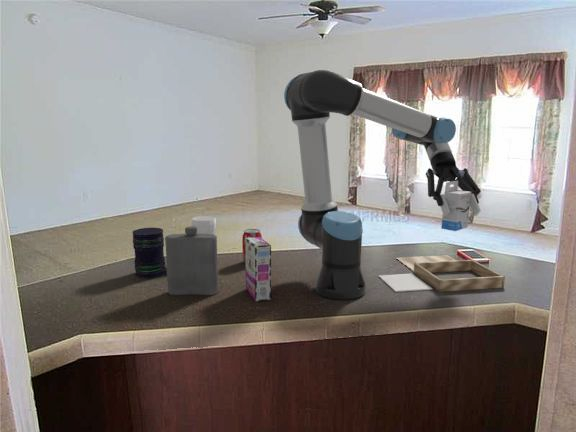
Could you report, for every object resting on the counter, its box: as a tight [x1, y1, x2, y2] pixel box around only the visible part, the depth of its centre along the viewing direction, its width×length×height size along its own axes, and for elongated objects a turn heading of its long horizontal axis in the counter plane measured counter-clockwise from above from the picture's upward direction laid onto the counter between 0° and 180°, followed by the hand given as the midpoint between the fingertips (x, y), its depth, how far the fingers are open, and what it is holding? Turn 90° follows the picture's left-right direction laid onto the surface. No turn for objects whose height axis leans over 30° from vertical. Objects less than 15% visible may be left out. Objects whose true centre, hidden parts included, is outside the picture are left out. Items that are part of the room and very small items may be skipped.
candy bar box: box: [245, 237, 272, 302], centre depth 129 cm, size 11×5×16 cm, turn 21°
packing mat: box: [378, 272, 434, 293], centre depth 141 cm, size 12×14×1 cm
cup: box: [191, 215, 219, 262], centre depth 162 cm, size 9×9×16 cm
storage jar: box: [132, 227, 166, 280], centre depth 147 cm, size 10×10×15 cm
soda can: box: [241, 228, 263, 264], centre depth 160 cm, size 7×7×12 cm
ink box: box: [440, 181, 471, 232], centre depth 138 cm, size 8×5×15 cm, turn 134°
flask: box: [164, 225, 219, 296], centre depth 131 cm, size 15×6×20 cm, turn 91°
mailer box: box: [395, 254, 506, 293], centre depth 151 cm, size 22×34×4 cm, turn 10°
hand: (462, 213), depth 135 cm, fingers closed on ink box, 9 cm apart
